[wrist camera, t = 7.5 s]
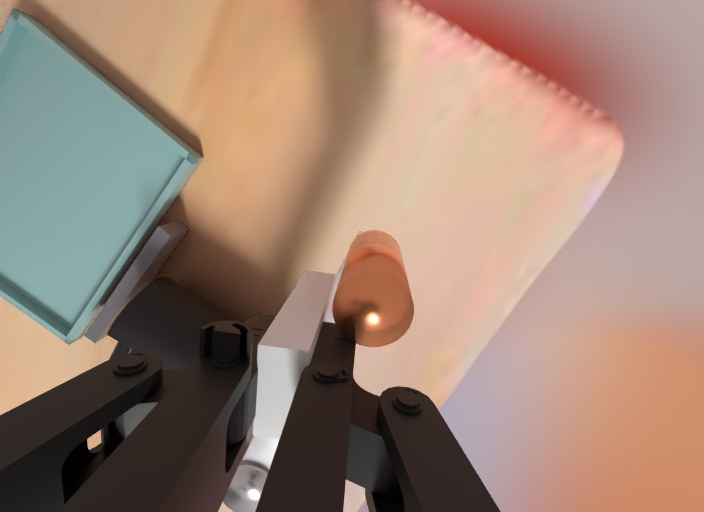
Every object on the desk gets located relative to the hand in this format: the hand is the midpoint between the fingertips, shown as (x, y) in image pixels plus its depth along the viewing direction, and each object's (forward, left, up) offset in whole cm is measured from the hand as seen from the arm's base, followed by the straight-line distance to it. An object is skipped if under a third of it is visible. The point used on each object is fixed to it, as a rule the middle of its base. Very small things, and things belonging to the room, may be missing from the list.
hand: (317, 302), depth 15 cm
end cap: (-12, +3, -11) cm, 17 cm away
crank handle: (-5, -3, -3) cm, 6 cm away
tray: (-11, +18, -11) cm, 24 cm away
